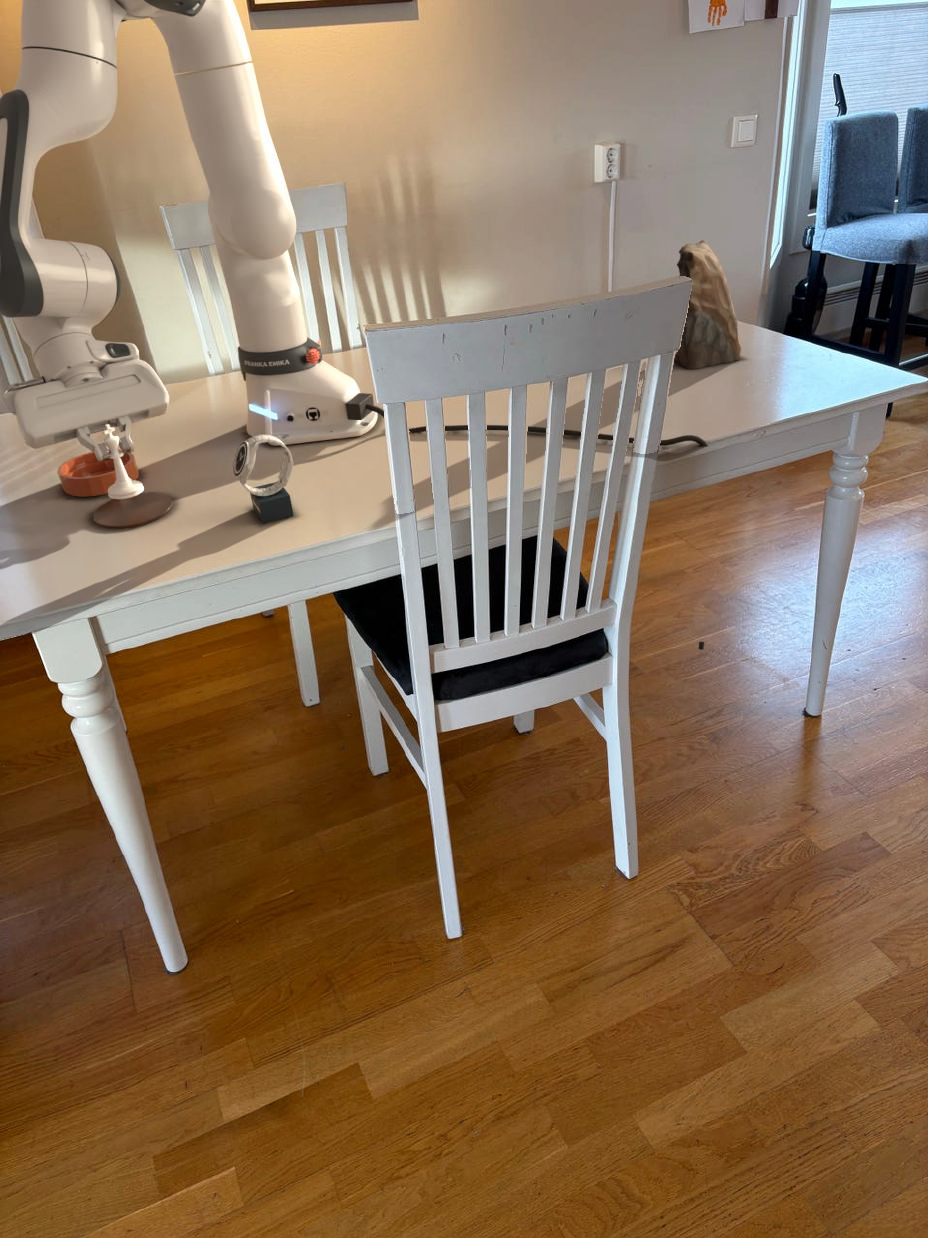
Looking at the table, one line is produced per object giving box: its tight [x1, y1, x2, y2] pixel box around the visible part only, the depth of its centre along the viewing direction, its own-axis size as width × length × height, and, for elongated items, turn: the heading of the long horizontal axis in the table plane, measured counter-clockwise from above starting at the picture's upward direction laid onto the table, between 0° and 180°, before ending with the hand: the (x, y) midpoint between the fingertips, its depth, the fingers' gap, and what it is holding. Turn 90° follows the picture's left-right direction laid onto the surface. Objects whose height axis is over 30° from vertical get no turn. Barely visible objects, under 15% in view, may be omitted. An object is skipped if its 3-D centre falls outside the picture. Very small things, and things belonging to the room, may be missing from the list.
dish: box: [56, 448, 140, 497], centre depth 138 cm, size 11×11×3 cm
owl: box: [674, 239, 743, 370], centre depth 166 cm, size 13×13×20 cm
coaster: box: [92, 491, 174, 530], centre depth 130 cm, size 11×11×1 cm
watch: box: [232, 435, 295, 524], centre depth 123 cm, size 6×8×11 cm
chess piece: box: [102, 424, 145, 500], centre depth 125 cm, size 5×5×10 cm
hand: (117, 454), depth 124 cm, fingers closed on chess piece
